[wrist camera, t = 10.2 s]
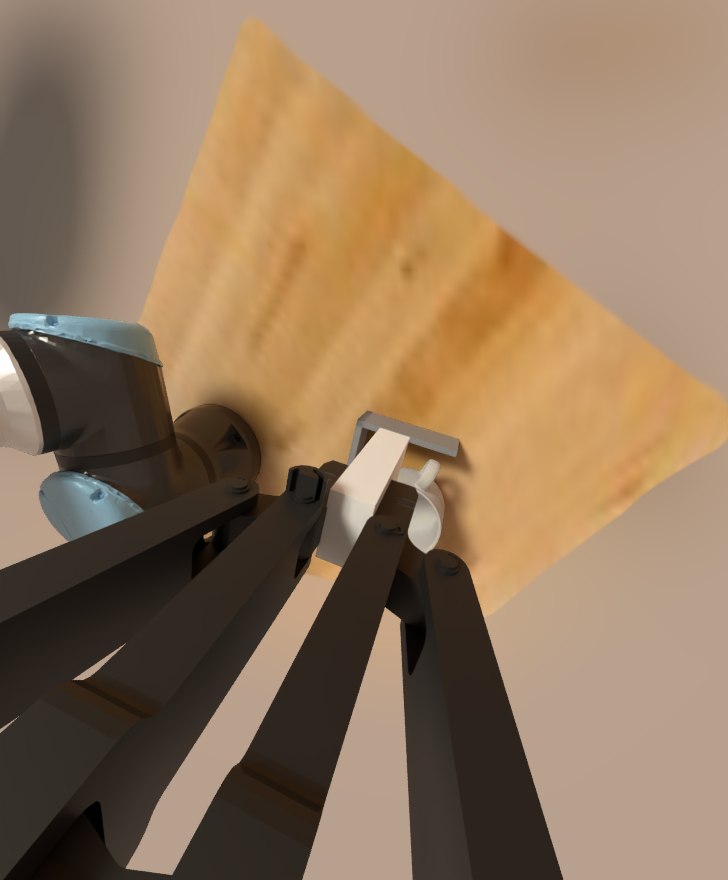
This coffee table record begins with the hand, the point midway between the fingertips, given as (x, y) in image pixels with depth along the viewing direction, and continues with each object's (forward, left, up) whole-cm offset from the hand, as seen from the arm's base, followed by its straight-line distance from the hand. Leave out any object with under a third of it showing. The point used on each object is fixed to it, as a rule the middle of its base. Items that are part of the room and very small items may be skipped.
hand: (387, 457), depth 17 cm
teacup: (+1, -17, -31) cm, 35 cm away
